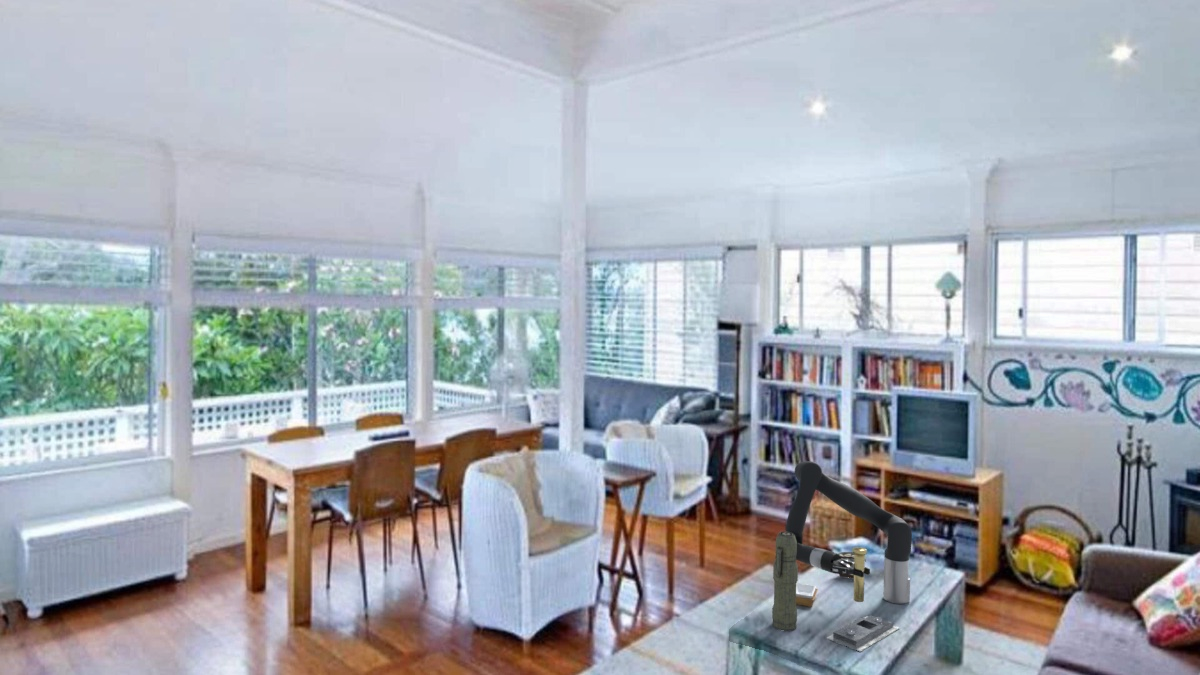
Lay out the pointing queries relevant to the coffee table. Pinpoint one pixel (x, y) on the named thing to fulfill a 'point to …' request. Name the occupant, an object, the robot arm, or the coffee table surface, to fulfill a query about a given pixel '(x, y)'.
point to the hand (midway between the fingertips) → (866, 572)
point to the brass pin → (858, 581)
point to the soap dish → (805, 594)
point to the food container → (848, 556)
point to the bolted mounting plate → (863, 632)
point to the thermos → (785, 582)
